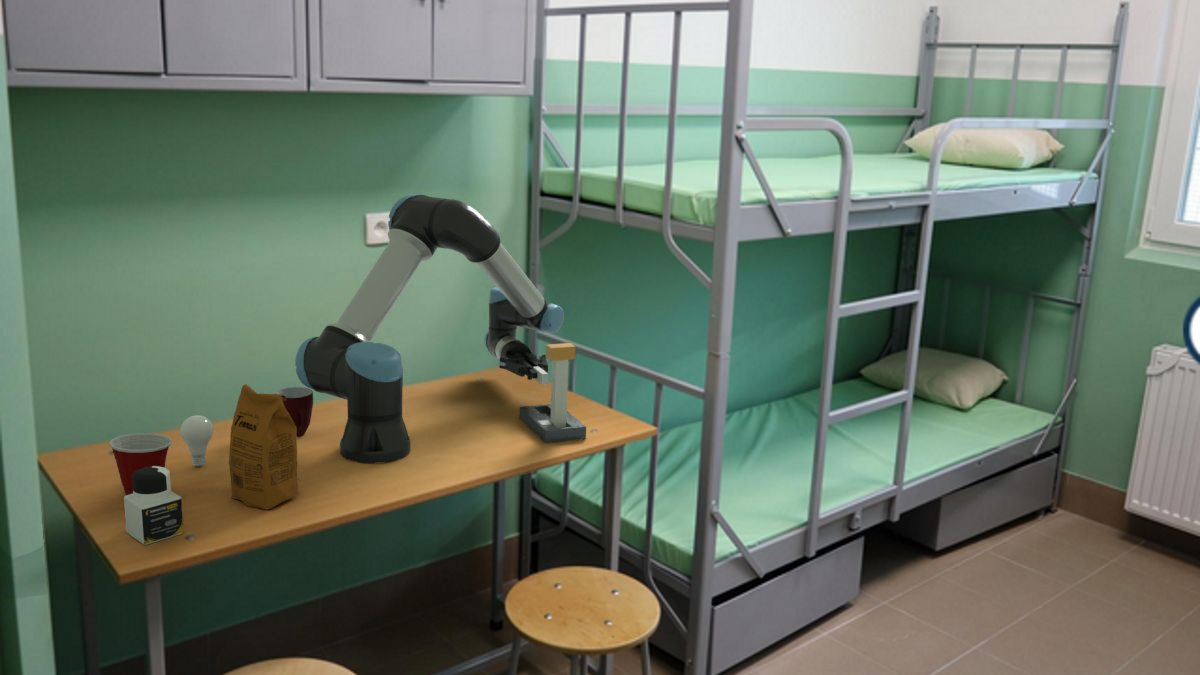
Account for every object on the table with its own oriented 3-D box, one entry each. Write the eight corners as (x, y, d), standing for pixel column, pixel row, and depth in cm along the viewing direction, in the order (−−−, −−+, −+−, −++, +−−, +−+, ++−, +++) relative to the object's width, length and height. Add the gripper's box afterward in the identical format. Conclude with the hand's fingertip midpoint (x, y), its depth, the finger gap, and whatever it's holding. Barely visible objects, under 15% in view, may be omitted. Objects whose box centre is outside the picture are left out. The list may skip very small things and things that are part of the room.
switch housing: (519, 418, 248) (519, 406, 247) (557, 414, 252) (557, 402, 252) (545, 443, 232) (546, 430, 232) (585, 438, 236) (586, 425, 236)
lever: (543, 425, 239) (546, 344, 234) (567, 422, 241) (570, 342, 236) (548, 429, 236) (551, 348, 231) (572, 426, 238) (575, 346, 233)
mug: (326, 438, 229) (325, 396, 227) (293, 446, 224) (291, 403, 221) (303, 426, 237) (302, 385, 234) (270, 433, 231) (269, 391, 229)
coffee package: (264, 482, 204) (260, 377, 199) (306, 498, 198) (302, 389, 192) (221, 497, 196) (216, 388, 191) (263, 514, 190) (258, 402, 184)
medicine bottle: (144, 546, 175) (139, 481, 172) (125, 533, 180) (120, 469, 177) (184, 534, 180) (180, 470, 177) (165, 521, 185) (161, 459, 182)
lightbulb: (182, 462, 212) (178, 412, 209) (214, 459, 215) (211, 409, 212) (183, 473, 207) (179, 422, 204) (216, 470, 209) (213, 419, 206)
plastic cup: (186, 499, 194) (182, 440, 192) (129, 515, 187) (124, 454, 184) (159, 483, 201) (155, 425, 198) (103, 498, 194) (98, 438, 191)
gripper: (536, 365, 270) (569, 391, 249) (489, 369, 265) (518, 396, 244) (537, 338, 268) (570, 362, 247) (490, 341, 263) (519, 366, 242)
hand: (544, 379), depth 246 cm, fingers closed
